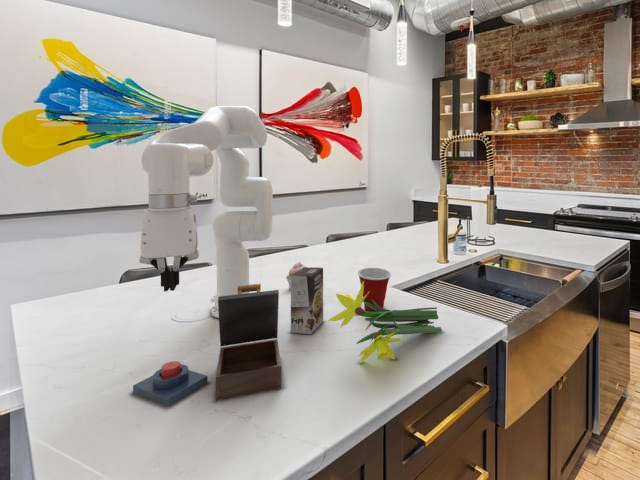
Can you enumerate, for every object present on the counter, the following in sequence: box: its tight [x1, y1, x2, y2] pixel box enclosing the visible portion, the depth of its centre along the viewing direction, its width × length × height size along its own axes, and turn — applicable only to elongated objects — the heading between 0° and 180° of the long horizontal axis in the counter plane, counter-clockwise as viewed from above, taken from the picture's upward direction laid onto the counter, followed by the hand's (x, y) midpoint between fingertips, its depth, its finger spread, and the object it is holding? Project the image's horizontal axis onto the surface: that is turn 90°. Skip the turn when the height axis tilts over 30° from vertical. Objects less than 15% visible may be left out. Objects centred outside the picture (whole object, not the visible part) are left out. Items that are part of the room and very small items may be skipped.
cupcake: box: [285, 261, 307, 291], centre depth 150 cm, size 9×9×10 cm
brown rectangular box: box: [215, 338, 282, 402], centre depth 89 cm, size 14×13×5 cm
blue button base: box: [132, 363, 209, 407], centre depth 85 cm, size 11×9×4 cm
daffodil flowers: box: [327, 281, 442, 364], centre depth 102 cm, size 17×15×35 cm
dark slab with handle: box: [218, 283, 280, 347], centre depth 95 cm, size 14×13×6 cm
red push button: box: [160, 360, 182, 378], centre depth 85 cm, size 4×4×2 cm
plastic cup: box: [357, 267, 392, 312], centre depth 130 cm, size 11×11×12 cm
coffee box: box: [290, 266, 324, 335], centre depth 116 cm, size 9×6×16 cm
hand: (170, 288), depth 85 cm, fingers closed
